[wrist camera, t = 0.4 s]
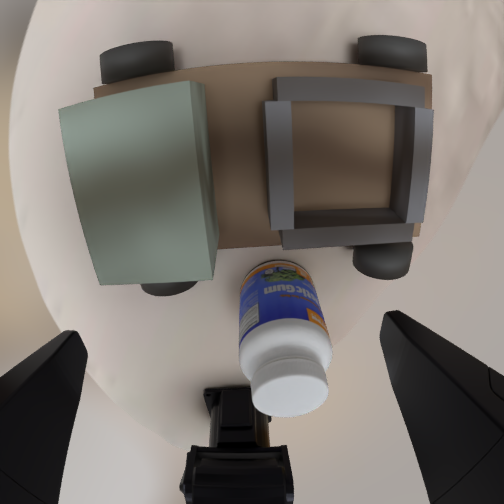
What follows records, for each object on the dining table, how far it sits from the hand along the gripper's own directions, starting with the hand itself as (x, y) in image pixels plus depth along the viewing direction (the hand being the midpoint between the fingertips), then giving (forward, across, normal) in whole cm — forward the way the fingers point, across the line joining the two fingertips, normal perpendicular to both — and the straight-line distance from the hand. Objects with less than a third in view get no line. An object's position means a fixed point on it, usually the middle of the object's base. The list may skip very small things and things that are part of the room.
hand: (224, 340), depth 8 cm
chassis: (+13, -2, -3) cm, 13 cm away
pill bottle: (+13, -2, +7) cm, 15 cm away
